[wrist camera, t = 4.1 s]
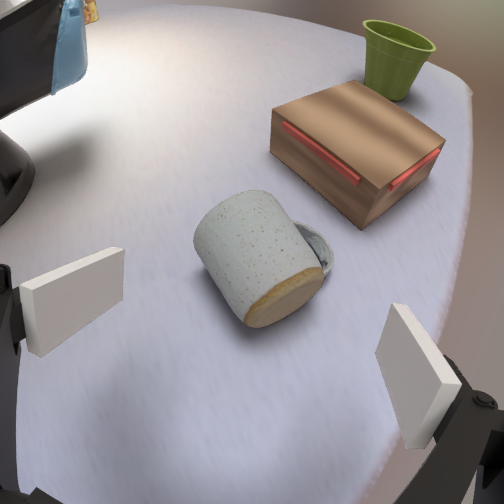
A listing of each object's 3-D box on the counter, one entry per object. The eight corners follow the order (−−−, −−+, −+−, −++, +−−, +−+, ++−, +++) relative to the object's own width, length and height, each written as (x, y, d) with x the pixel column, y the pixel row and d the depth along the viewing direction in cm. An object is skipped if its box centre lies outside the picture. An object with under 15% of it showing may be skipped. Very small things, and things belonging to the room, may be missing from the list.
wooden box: (361, 235, 30) (379, 194, 25) (267, 152, 36) (268, 110, 31) (430, 177, 35) (448, 142, 30) (347, 115, 41) (355, 79, 36)
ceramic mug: (246, 345, 25) (246, 309, 18) (197, 267, 28) (184, 211, 22) (349, 282, 28) (378, 231, 21) (296, 218, 31) (308, 159, 25)
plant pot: (400, 118, 41) (421, 54, 32) (337, 83, 46) (348, 22, 36) (427, 98, 46) (445, 46, 36) (372, 69, 50) (383, 17, 41)
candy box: (99, 17, 78) (91, -19, 65) (98, 20, 76) (90, -18, 63) (75, 26, 76) (66, -10, 63) (73, 29, 74) (64, -9, 61)
